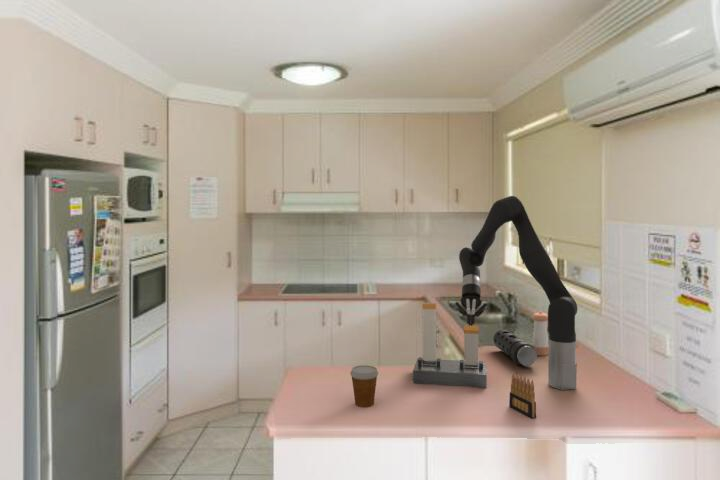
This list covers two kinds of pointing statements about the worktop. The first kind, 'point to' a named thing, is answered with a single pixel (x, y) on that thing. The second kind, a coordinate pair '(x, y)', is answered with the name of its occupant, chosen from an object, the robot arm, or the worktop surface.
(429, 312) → the lever far
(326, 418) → the worktop surface
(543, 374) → the worktop surface
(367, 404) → the disposable coffee cup
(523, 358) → the muzzle brake
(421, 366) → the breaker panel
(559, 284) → the robot arm
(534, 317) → the pepper shaker
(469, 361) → the lever near
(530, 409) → the ammunition clip
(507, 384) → the worktop surface
